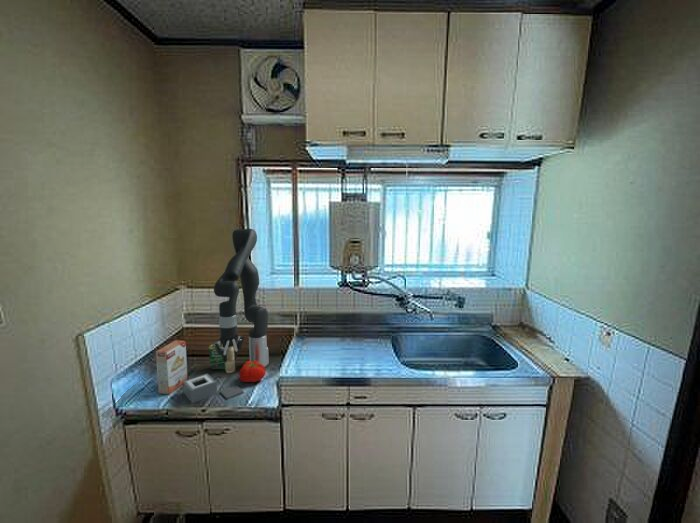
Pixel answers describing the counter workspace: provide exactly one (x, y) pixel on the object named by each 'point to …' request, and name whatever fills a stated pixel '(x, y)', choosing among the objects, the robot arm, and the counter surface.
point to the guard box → (200, 388)
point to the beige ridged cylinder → (230, 360)
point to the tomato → (252, 371)
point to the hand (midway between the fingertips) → (229, 360)
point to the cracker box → (171, 366)
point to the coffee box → (216, 358)
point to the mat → (231, 392)
